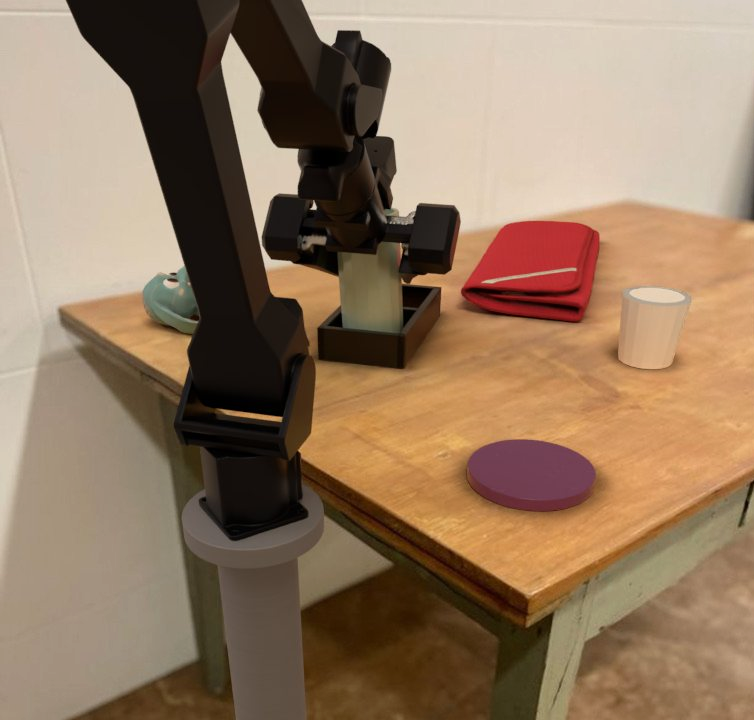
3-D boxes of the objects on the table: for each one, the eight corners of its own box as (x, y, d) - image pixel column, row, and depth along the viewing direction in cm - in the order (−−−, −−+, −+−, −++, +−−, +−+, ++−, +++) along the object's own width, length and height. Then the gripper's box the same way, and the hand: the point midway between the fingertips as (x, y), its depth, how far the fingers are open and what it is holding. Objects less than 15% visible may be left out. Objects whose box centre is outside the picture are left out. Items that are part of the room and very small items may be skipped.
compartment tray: (403, 369, 84) (404, 336, 82) (317, 359, 86) (316, 327, 84) (440, 315, 99) (441, 286, 97) (365, 308, 101) (365, 280, 99)
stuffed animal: (249, 289, 89) (136, 270, 87) (242, 351, 92) (133, 334, 90) (253, 263, 98) (151, 245, 96) (246, 320, 101) (147, 304, 99)
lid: (524, 525, 59) (526, 513, 58) (441, 469, 66) (442, 458, 65) (621, 488, 63) (623, 477, 63) (534, 439, 71) (535, 429, 70)
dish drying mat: (600, 243, 130) (604, 218, 128) (586, 324, 96) (591, 292, 94) (502, 236, 133) (504, 212, 131) (455, 312, 100) (457, 281, 98)
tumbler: (393, 358, 85) (387, 218, 78) (335, 355, 87) (324, 218, 80) (410, 339, 90) (406, 206, 83) (355, 336, 92) (346, 206, 85)
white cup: (633, 343, 91) (644, 280, 87) (690, 359, 87) (704, 294, 83) (599, 359, 87) (609, 294, 83) (657, 376, 83) (671, 309, 79)
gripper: (463, 111, 71) (475, 215, 86) (264, 102, 75) (308, 203, 90) (441, 225, 69) (457, 311, 84) (237, 210, 73) (287, 295, 88)
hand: (376, 276), depth 86 cm, fingers closed on tumbler, 7 cm apart
